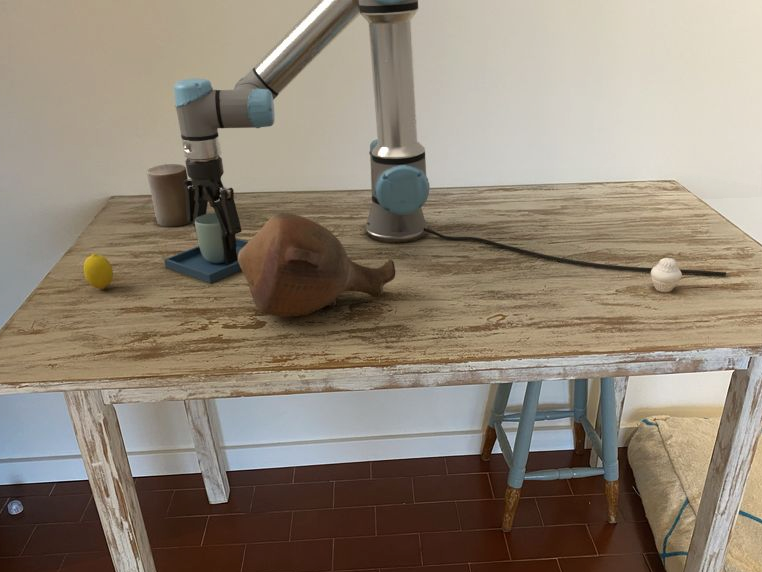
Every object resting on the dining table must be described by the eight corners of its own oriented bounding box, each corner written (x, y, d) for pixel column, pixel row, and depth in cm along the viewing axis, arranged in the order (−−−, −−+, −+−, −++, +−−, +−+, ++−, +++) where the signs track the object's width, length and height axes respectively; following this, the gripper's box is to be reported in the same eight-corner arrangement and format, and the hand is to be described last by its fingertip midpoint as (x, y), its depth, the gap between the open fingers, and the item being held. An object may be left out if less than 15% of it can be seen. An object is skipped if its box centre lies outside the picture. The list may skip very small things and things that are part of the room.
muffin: (641, 285, 149) (647, 255, 146) (665, 281, 152) (670, 250, 148) (661, 297, 144) (667, 266, 141) (685, 292, 147) (691, 261, 143)
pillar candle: (202, 218, 188) (193, 162, 180) (173, 229, 180) (162, 171, 173) (177, 212, 192) (167, 156, 185) (148, 222, 185) (136, 165, 177)
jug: (235, 335, 132) (392, 341, 140) (240, 246, 119) (411, 258, 128) (235, 272, 147) (376, 281, 155) (239, 187, 134) (393, 201, 143)
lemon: (90, 297, 147) (80, 261, 143) (87, 286, 151) (78, 251, 147) (118, 291, 149) (109, 256, 145) (114, 281, 153) (106, 247, 149)
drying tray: (272, 256, 165) (271, 248, 164) (210, 283, 152) (209, 275, 151) (227, 242, 172) (226, 235, 171) (165, 267, 160) (164, 259, 159)
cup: (227, 268, 158) (221, 225, 153) (195, 265, 159) (188, 223, 154) (242, 255, 165) (236, 213, 160) (211, 252, 166) (204, 211, 161)
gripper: (157, 154, 153) (176, 252, 164) (222, 169, 142) (237, 273, 154) (185, 146, 158) (201, 242, 169) (250, 161, 148) (263, 262, 159)
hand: (218, 257), depth 162 cm, fingers closed on cup, 8 cm apart
